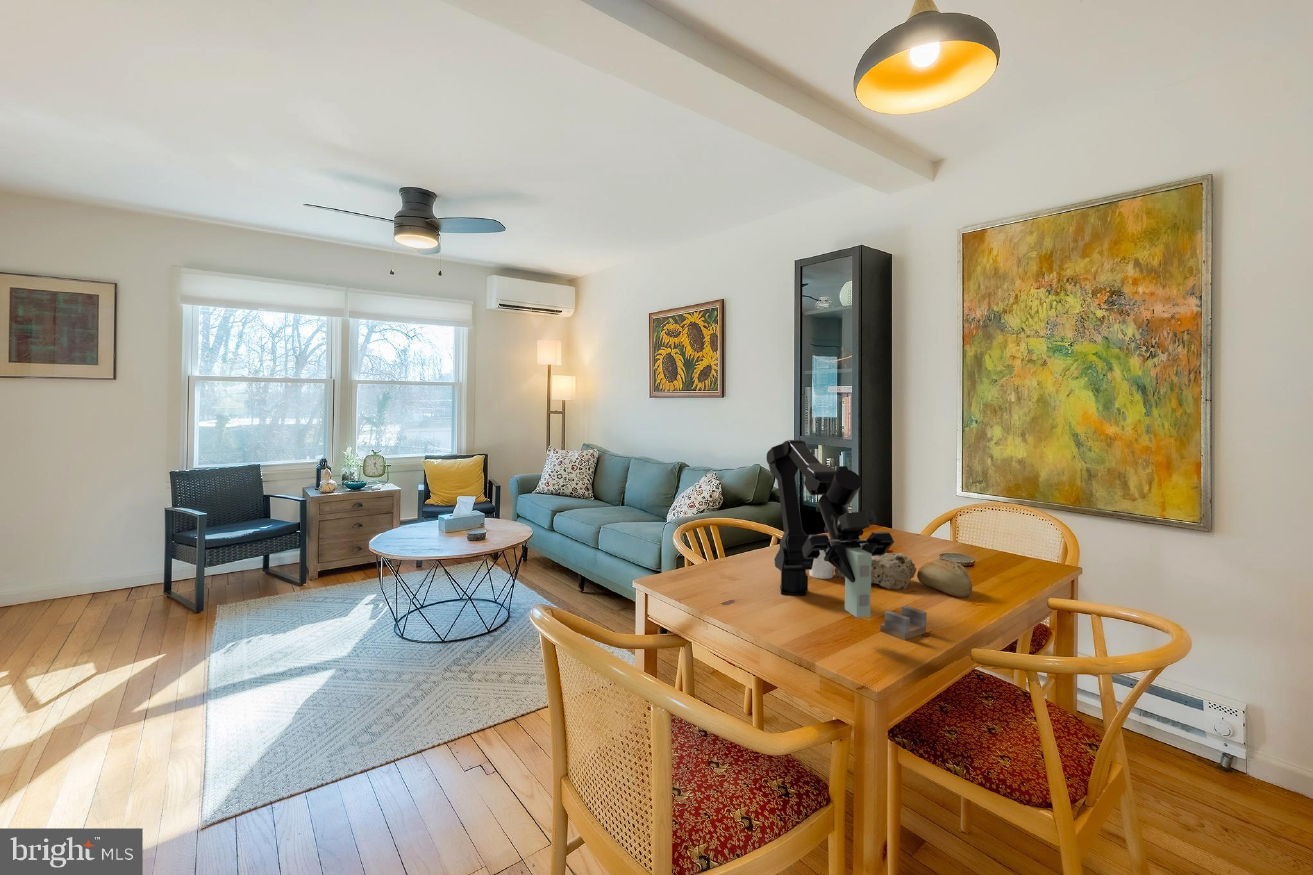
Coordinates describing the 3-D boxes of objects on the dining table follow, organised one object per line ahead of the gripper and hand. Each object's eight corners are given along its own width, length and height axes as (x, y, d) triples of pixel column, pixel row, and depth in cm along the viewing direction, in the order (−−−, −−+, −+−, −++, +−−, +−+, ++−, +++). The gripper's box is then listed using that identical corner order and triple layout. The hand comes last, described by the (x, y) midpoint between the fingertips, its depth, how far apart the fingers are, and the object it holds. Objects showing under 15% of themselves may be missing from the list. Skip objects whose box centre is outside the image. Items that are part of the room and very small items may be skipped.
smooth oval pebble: (931, 580, 163) (932, 552, 162) (982, 596, 149) (983, 565, 149) (908, 585, 159) (908, 556, 158) (957, 601, 145) (958, 570, 145)
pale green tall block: (844, 609, 122) (845, 548, 121) (857, 608, 122) (859, 547, 122) (857, 618, 117) (858, 554, 116) (871, 617, 117) (872, 554, 116)
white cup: (805, 571, 172) (806, 538, 171) (833, 572, 171) (833, 538, 170) (808, 579, 164) (809, 544, 163) (837, 580, 163) (838, 545, 162)
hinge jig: (880, 630, 126) (880, 610, 126) (901, 623, 130) (901, 604, 130) (904, 640, 121) (905, 619, 121) (926, 632, 125) (926, 612, 125)
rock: (828, 581, 165) (830, 545, 167) (854, 583, 174) (856, 549, 176) (898, 590, 150) (899, 551, 152) (923, 592, 159) (923, 555, 161)
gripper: (808, 497, 121) (832, 563, 110) (890, 494, 124) (920, 559, 114) (793, 526, 129) (813, 590, 119) (870, 523, 132) (896, 585, 122)
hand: (861, 581), depth 118 cm, fingers closed on pale green tall block, 3 cm apart
